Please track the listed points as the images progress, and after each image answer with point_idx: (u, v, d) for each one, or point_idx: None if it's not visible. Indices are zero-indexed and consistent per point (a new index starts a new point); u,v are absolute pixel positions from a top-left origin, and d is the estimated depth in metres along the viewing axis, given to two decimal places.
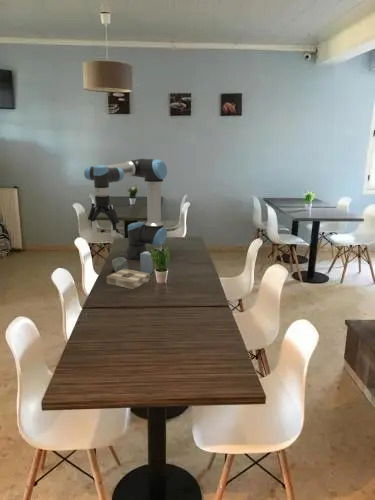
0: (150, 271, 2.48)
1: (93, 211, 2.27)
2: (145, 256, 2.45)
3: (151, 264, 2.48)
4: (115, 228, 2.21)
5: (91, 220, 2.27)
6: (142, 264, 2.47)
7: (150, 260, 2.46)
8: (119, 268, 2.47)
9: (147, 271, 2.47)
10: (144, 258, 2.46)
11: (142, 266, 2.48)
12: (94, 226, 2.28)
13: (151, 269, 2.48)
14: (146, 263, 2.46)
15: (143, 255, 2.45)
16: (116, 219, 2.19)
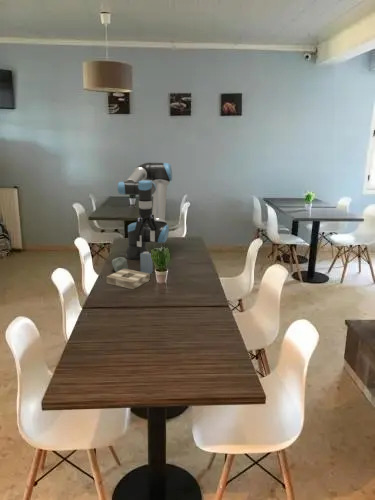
0: (150, 271, 2.48)
1: (152, 222, 2.47)
2: (145, 256, 2.45)
3: (151, 264, 2.48)
4: (138, 239, 2.37)
5: (151, 229, 2.50)
6: (142, 264, 2.47)
7: (150, 260, 2.46)
8: (119, 268, 2.47)
9: (147, 271, 2.47)
10: (144, 258, 2.46)
11: (142, 266, 2.48)
12: (151, 235, 2.49)
13: (151, 269, 2.48)
14: (146, 263, 2.46)
15: (143, 255, 2.45)
16: (135, 231, 2.34)
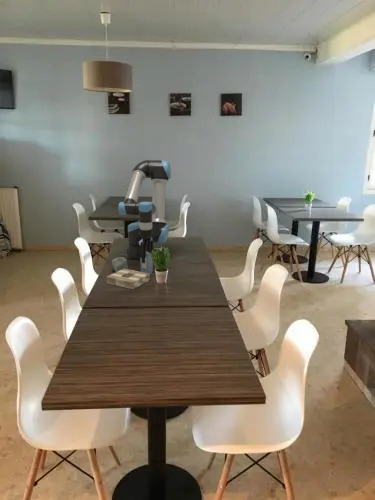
0: (150, 271, 2.48)
1: (150, 244, 2.49)
2: None
3: (151, 264, 2.48)
4: (143, 261, 2.45)
5: None
6: None
7: (150, 260, 2.46)
8: (119, 268, 2.47)
9: (147, 271, 2.47)
10: None
11: None
12: None
13: (151, 269, 2.48)
14: None
15: None
16: (140, 254, 2.42)
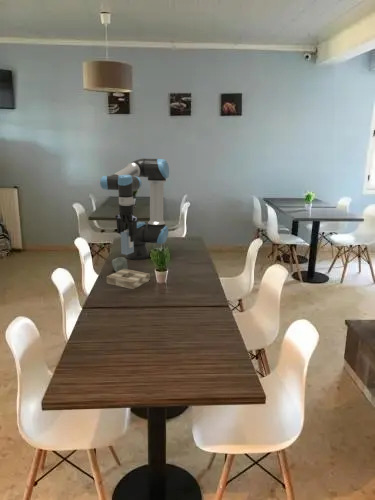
0: None
1: (120, 223, 2.28)
2: None
3: None
4: (132, 240, 2.26)
5: None
6: (128, 244, 2.26)
7: None
8: (119, 268, 2.47)
9: (132, 249, 2.30)
10: None
11: (128, 246, 2.27)
12: None
13: None
14: None
15: None
16: (135, 231, 2.24)
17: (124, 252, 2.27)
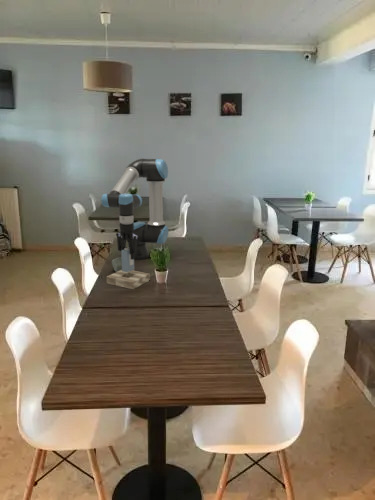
0: None
1: (120, 241, 2.31)
2: None
3: None
4: (133, 257, 2.29)
5: None
6: None
7: None
8: (119, 268, 2.47)
9: (133, 266, 2.33)
10: None
11: None
12: None
13: None
14: None
15: (129, 251, 2.28)
16: (135, 249, 2.26)
17: (125, 269, 2.30)
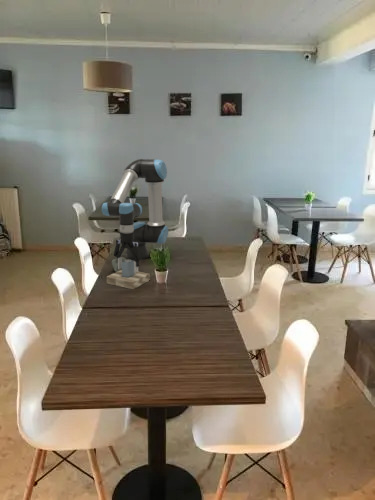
0: None
1: (118, 247, 2.33)
2: (131, 263, 2.31)
3: None
4: None
5: (117, 257, 2.33)
6: (129, 273, 2.31)
7: None
8: None
9: None
10: (130, 266, 2.31)
11: (129, 276, 2.32)
12: (119, 262, 2.34)
13: None
14: (132, 270, 2.33)
15: (130, 263, 2.30)
16: (140, 256, 2.26)
17: None
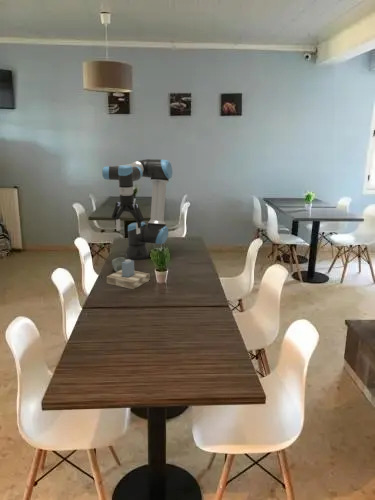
0: None
1: (117, 210, 2.33)
2: (131, 263, 2.31)
3: None
4: (140, 226, 2.29)
5: (115, 218, 2.34)
6: (129, 273, 2.31)
7: None
8: (119, 268, 2.47)
9: None
10: (130, 266, 2.31)
11: (129, 276, 2.32)
12: (118, 224, 2.35)
13: None
14: (132, 270, 2.33)
15: (130, 263, 2.30)
16: (141, 217, 2.26)
17: None
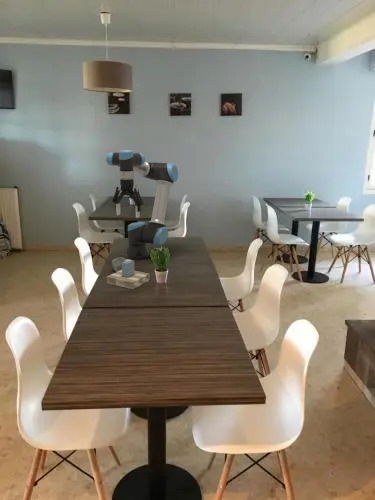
0: None
1: (117, 194, 2.39)
2: (131, 263, 2.31)
3: None
4: (139, 210, 2.34)
5: (115, 203, 2.39)
6: (129, 273, 2.31)
7: None
8: (119, 268, 2.47)
9: None
10: (130, 266, 2.31)
11: (129, 276, 2.32)
12: (118, 208, 2.40)
13: None
14: (132, 270, 2.33)
15: (130, 263, 2.30)
16: (141, 201, 2.32)
17: None
